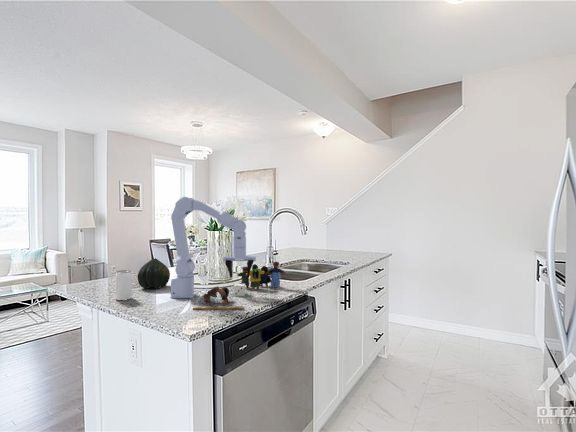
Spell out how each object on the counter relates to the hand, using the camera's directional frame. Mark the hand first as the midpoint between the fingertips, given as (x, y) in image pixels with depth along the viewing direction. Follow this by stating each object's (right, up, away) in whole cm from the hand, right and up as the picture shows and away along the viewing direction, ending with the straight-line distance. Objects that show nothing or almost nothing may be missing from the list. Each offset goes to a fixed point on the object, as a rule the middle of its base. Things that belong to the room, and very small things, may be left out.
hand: (239, 277), depth 147 cm
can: (-49, -9, -6) cm, 50 cm away
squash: (-45, -8, +16) cm, 49 cm away
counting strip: (-5, -9, -21) cm, 23 cm away
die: (0, -8, 0) cm, 8 cm away
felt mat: (0, -8, 0) cm, 8 cm away
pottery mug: (-7, -9, -13) cm, 17 cm away
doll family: (+9, -9, +14) cm, 19 cm away
